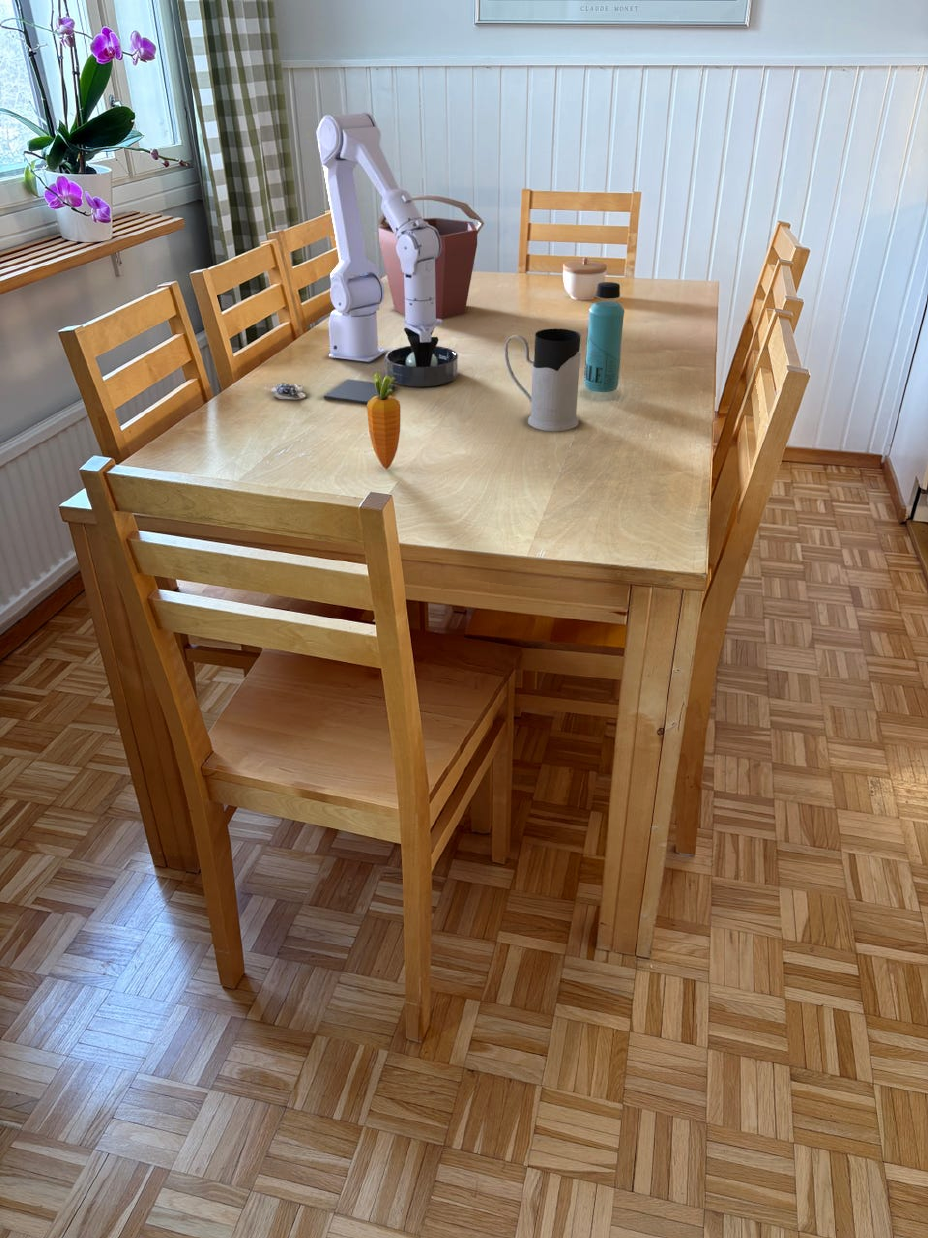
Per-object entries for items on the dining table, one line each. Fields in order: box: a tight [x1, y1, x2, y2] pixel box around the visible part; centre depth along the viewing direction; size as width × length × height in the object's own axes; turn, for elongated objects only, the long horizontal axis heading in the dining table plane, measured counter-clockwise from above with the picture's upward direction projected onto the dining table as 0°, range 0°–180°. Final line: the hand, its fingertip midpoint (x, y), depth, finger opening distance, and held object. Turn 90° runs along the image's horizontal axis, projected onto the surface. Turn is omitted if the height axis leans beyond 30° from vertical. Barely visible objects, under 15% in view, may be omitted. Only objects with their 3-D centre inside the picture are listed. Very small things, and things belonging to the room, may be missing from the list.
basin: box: [384, 345, 459, 388], centre depth 181 cm, size 14×14×4 cm
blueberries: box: [270, 382, 307, 401], centre depth 173 cm, size 7×8×2 cm
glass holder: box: [504, 328, 582, 432], centre depth 159 cm, size 9×14×15 cm, turn 58°
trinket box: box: [562, 257, 608, 301], centre depth 232 cm, size 11×11×9 cm
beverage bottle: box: [583, 281, 625, 393], centre depth 168 cm, size 6×7×20 cm
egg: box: [406, 352, 438, 367], centre depth 181 cm, size 6×4×4 cm
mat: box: [323, 378, 397, 405], centre depth 174 cm, size 10×10×1 cm
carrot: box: [366, 372, 401, 470], centre depth 141 cm, size 5×5×15 cm
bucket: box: [378, 195, 485, 320], centre depth 217 cm, size 24×22×25 cm
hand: (421, 369), depth 182 cm, fingers closed on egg, 4 cm apart
